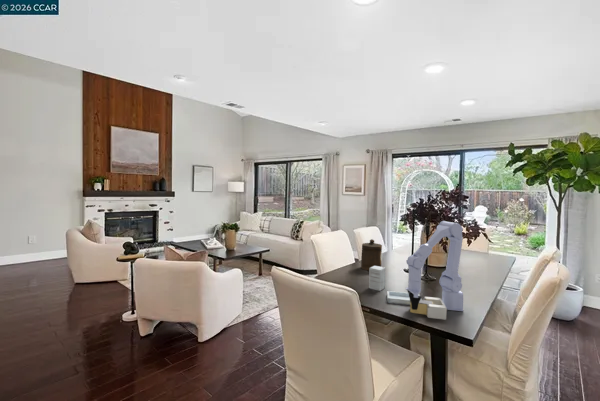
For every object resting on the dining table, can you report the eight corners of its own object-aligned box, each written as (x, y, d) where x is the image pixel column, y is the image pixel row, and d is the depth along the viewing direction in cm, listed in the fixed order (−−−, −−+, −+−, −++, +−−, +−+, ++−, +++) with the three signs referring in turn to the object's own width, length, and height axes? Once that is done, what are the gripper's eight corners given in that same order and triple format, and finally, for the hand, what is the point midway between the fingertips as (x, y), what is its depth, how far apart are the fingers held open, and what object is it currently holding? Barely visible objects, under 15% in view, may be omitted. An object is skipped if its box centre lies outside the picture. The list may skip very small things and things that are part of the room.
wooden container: (385, 269, 224) (386, 240, 223) (370, 272, 217) (371, 241, 216) (371, 265, 237) (372, 237, 236) (356, 267, 230) (357, 238, 229)
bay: (440, 308, 152) (440, 298, 152) (446, 319, 140) (446, 308, 140) (423, 307, 154) (423, 296, 154) (427, 317, 142) (428, 306, 141)
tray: (418, 298, 167) (419, 293, 167) (422, 306, 155) (422, 301, 155) (386, 294, 171) (387, 290, 171) (387, 302, 159) (387, 298, 159)
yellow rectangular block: (431, 311, 149) (432, 301, 148) (432, 315, 144) (433, 304, 144) (410, 308, 152) (410, 298, 152) (410, 312, 148) (410, 301, 147)
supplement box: (373, 285, 188) (374, 265, 187) (385, 288, 183) (385, 267, 182) (368, 288, 182) (369, 267, 181) (380, 291, 177) (380, 269, 177)
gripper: (404, 275, 157) (403, 300, 157) (407, 283, 143) (406, 311, 143) (419, 276, 155) (418, 302, 156) (423, 285, 141) (422, 313, 141)
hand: (413, 307), depth 149 cm, fingers closed on yellow rectangular block, 5 cm apart
